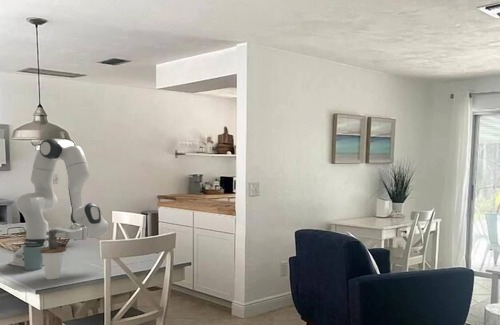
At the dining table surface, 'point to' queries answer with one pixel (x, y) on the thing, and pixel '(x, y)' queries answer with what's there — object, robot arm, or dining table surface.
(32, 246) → the teal canister
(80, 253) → the dining table surface
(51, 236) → the cover
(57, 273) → the foam cup
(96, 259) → the dining table surface
